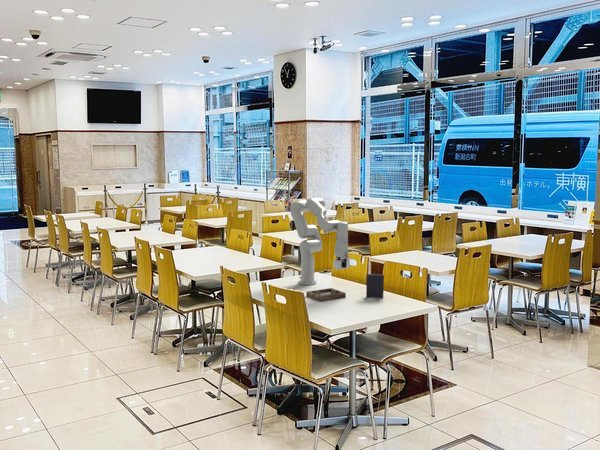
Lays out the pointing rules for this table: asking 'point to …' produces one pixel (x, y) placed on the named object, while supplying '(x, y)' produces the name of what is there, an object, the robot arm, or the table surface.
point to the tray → (325, 294)
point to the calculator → (375, 285)
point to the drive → (340, 264)
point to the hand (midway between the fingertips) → (341, 266)
